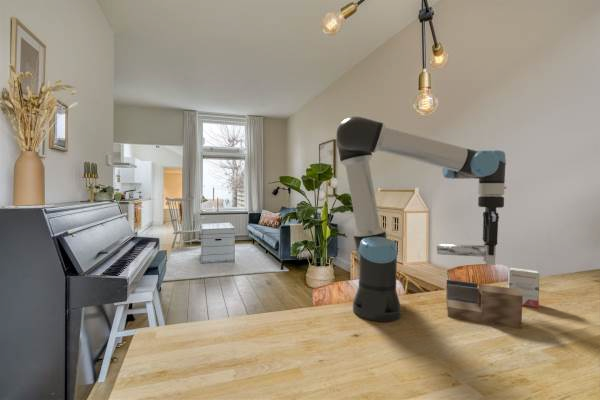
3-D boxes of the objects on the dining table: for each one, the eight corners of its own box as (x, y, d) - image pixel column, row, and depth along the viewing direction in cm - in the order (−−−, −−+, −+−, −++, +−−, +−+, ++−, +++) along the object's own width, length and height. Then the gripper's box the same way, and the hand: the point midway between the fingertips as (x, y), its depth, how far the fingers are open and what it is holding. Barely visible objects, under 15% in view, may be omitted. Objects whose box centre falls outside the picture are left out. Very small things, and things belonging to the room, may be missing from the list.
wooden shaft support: (447, 316, 92) (448, 286, 92) (446, 308, 99) (447, 280, 98) (521, 328, 85) (522, 296, 84) (514, 319, 91) (516, 288, 91)
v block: (447, 301, 105) (447, 284, 105) (446, 295, 111) (446, 279, 111) (479, 306, 101) (480, 289, 101) (476, 299, 107) (477, 283, 107)
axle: (437, 255, 107) (437, 244, 107) (437, 252, 111) (436, 242, 111) (495, 258, 100) (495, 247, 100) (493, 256, 104) (493, 244, 103)
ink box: (536, 303, 104) (538, 270, 104) (538, 308, 100) (540, 273, 100) (507, 298, 109) (508, 266, 109) (507, 302, 105) (509, 269, 104)
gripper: (510, 196, 92) (507, 269, 93) (498, 195, 108) (496, 258, 109) (482, 196, 95) (480, 267, 96) (475, 195, 111) (473, 256, 112)
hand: (488, 262), depth 103 cm, fingers closed on axle, 4 cm apart
